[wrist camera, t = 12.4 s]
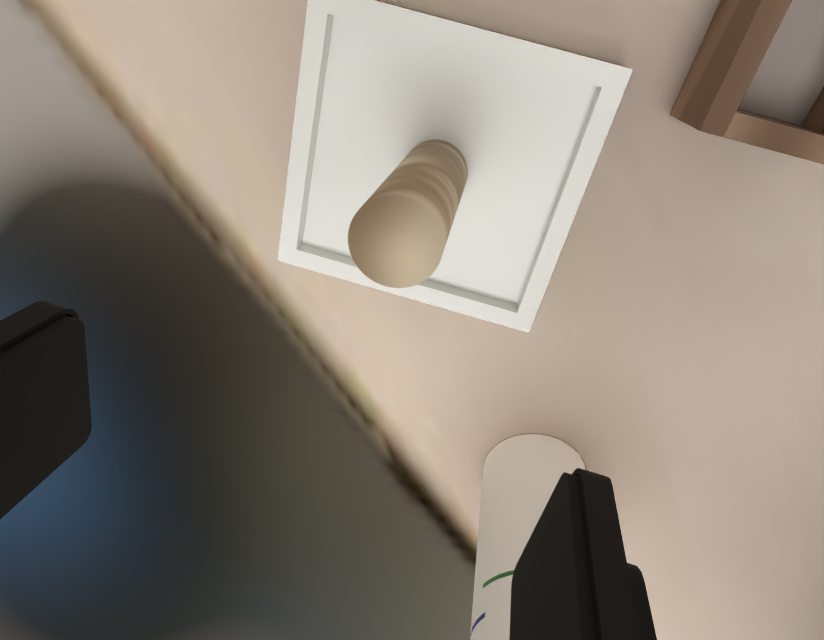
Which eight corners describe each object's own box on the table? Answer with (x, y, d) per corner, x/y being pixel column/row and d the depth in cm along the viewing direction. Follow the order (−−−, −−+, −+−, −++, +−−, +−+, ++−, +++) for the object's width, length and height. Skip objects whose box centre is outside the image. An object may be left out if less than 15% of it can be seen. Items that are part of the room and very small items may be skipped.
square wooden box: (905, -11, 23) (995, -21, 19) (810, 152, 27) (867, 176, 22) (744, -53, 23) (795, -72, 19) (670, 114, 27) (699, 130, 23)
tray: (623, 66, 26) (632, 69, 24) (528, 313, 33) (528, 332, 31) (326, -13, 27) (309, -17, 25) (292, 245, 34) (277, 260, 32)
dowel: (475, 149, 28) (454, 211, 18) (457, 212, 29) (430, 298, 20) (411, 131, 28) (356, 183, 18) (397, 195, 30) (340, 273, 20)
